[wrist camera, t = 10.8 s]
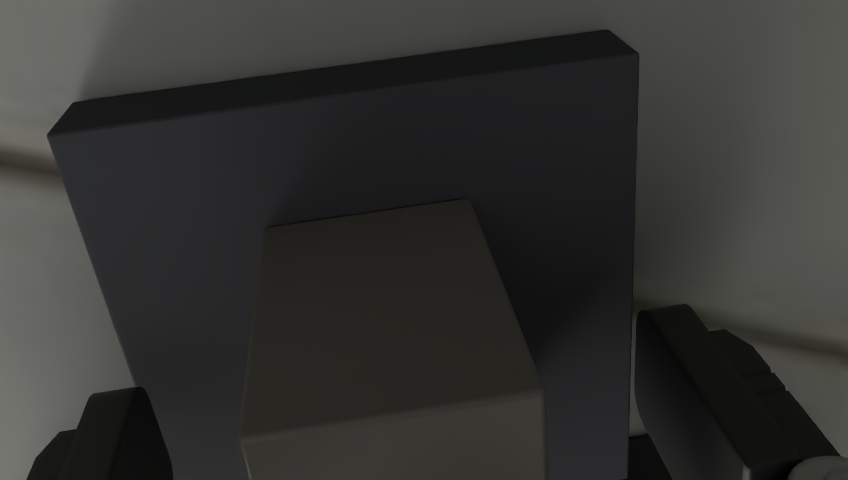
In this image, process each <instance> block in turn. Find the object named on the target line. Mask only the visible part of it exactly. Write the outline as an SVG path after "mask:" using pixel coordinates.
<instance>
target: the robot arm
mask: <svg viewBox="0 0 848 480" xmlns="http://www.w3.org/2000/svg"><path fill="white" fill-rule="evenodd" d="M635 397H636V402H637V407H638V410H639V414H640V417H641V419H642V422H643V424H644V426H645V428H646V430H647V432H648V434H649V435H650V437H651V439H652V441H653V443H654V445H655V447H656V449H657V451H658V453H659V454H660V456H661V458H662V460H663V462H664V464H665V466H666V468H667V470H668V472H669V473H670V475H671V477H672V479H673V480H848V458H845V457H841V456H840V454H839V453H838V452H837V451H836V449H835V448H834V447H833V446H832V444H831V443H830V442H829V441H828V439H827V438H826V437H825V436H824V434H823V433H822V432H821V431H820V429H819V428H818V427H817V426H816V424H815V423H814V422H813V421H812V420H811V418H810V417H809V416H808V415H807V413H806V412H805V411H804V410H803V408H802V407H801V406H800V405H799V403H798V402H797V401H796V400H795V398H794V397H793V396H792V395H791V393H790V392H789V391H786V390H785V386H784V385H783V383H782V382H781V381H780V380H779V378H778V377H777V376H776V375H775V373H771V371H770V367H769V366H768V365H767V363H766V362H765V361H764V360H763V359H762V357H761V356H760V355H759V354H758V352H757V351H756V350H755V349H754V347H753V346H751V345H750V344H748V343H747V342H745V341H743V340H742V339H740V338H738V337H737V336H735V335H733V334H732V333H730V332H729V331H727V330H725V329H723V330H716V331H710V332H709V331H708V330H707V328H706V327H705V326H704V324H703V323H702V322H701V320H700V319H699V318H698V316H697V315H696V314H695V312H694V311H693V309H692V308H691V307H690V306H689V305H687V304H679V305H673V306H666V307H660V308H653V309H647V310H641V311H639V313H638V316H637V322H636V351H635ZM27 480H173V470H172V464H171V460H170V456H169V453H168V450H167V447H166V445H165V442H164V439H163V436H162V433H161V430H160V427H159V424H158V421H157V419H156V416H155V413H154V410H153V407H152V404H151V401H150V398H149V396H148V394H147V392H146V390H145V389H144V388H143V387H141V386H139V387H133V388H126V389H120V390H113V391H107V392H100V393H94V394H92V395H91V396H90V397H89V399H88V401H87V404H86V406H85V409H84V412H83V414H82V417H81V419H80V422H79V425H78V427H77V429H74V430H68V431H62V432H59V433H58V434H57V435H56V437H55V438H54V439H53V440H52V441H51V442H50V443H49V444H48V445H47V446H46V447H45V449H44V450H43V451H42V452H41V453H40V454H39V455H38V456H37V457H36V459H35V461H34V463H33V466H32V468H31V470H30V473H29V475H28V477H27Z"/></svg>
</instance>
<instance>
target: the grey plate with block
mask: <svg viewBox="0 0 848 480" xmlns="http://www.w3.org/2000/svg"><path fill="white" fill-rule="evenodd" d="M638 89H639V53H638V52H637V51H635V50H634V49H633V48H631V47H630V46H629V45H627V44H626V43H625V42H624V41H622V40H621V39H620V38H618V37H617V36H616V35H615V34H613V33H612V32H611V31H609V30H605V31H597V32H590V33H582V34H575V35H568V36H560V37H553V38H545V39H538V40H531V41H523V42H516V43H509V44H501V45H494V46H486V47H479V48H472V49H464V50H457V51H449V52H442V53H435V54H427V55H420V56H412V57H405V58H398V59H390V60H383V61H376V62H368V63H361V64H353V65H346V66H339V67H331V68H324V69H316V70H309V71H302V72H294V73H287V74H280V75H272V76H265V77H257V78H250V79H243V80H235V81H228V82H220V83H213V84H206V85H198V86H191V87H184V88H176V89H169V90H161V91H154V92H147V93H139V94H132V95H124V96H117V97H110V98H102V99H95V100H88V101H80V102H74V103H72V104H71V106H70V107H69V108H68V109H67V111H66V112H65V113H64V114H63V115H62V117H61V118H60V119H59V120H58V122H57V123H56V124H55V125H54V127H53V128H52V129H51V130H50V131H49V133H48V134H47V138H48V141H49V144H50V146H51V149H52V152H53V155H54V158H55V161H56V163H57V166H58V169H59V172H60V175H61V178H62V180H63V183H64V186H65V189H66V192H67V194H68V197H69V200H70V203H71V206H72V209H73V211H74V214H75V217H76V220H77V223H78V226H79V228H80V231H81V234H82V237H83V240H84V243H85V245H86V248H87V251H88V254H89V257H90V260H91V262H92V265H93V268H94V271H95V274H96V277H97V279H98V282H99V285H100V288H101V291H102V294H103V296H104V299H105V302H106V305H107V308H108V311H109V313H110V316H111V319H112V322H113V325H114V328H115V330H116V333H117V336H118V339H119V342H120V345H121V347H122V350H123V353H124V356H125V359H126V361H127V364H128V367H129V370H130V373H131V376H132V378H133V381H134V384H135V387H139V386H141V387H143V388H144V389H145V390H146V392H147V394H148V396H149V398H150V401H151V404H152V407H153V410H154V413H155V416H156V419H157V421H158V424H159V427H160V430H161V433H162V436H163V439H164V442H165V445H166V447H167V450H168V453H169V456H170V460H171V464H172V470H173V480H620V479H626V478H627V477H628V447H629V411H630V375H631V340H632V304H633V268H634V232H635V196H636V161H637V125H638Z"/></svg>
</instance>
